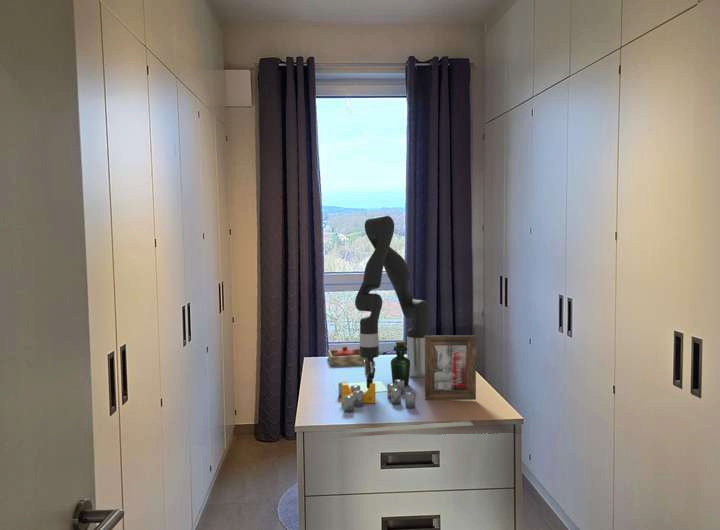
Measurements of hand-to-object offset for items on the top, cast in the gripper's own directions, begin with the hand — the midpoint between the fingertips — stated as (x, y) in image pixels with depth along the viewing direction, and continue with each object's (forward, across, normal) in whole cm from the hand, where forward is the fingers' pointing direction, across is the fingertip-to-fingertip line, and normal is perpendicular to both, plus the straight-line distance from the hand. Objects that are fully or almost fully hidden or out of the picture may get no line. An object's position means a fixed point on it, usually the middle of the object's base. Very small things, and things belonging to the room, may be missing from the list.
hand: (369, 388), depth 201 cm
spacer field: (+2, -11, 0) cm, 11 cm away
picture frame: (+2, -14, -28) cm, 31 cm away
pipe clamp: (+2, -12, +6) cm, 14 cm away
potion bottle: (+2, +8, -14) cm, 16 cm away
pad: (+2, +7, +1) cm, 7 cm away
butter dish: (+2, +49, +4) cm, 49 cm away
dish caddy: (+2, +50, +3) cm, 50 cm away
